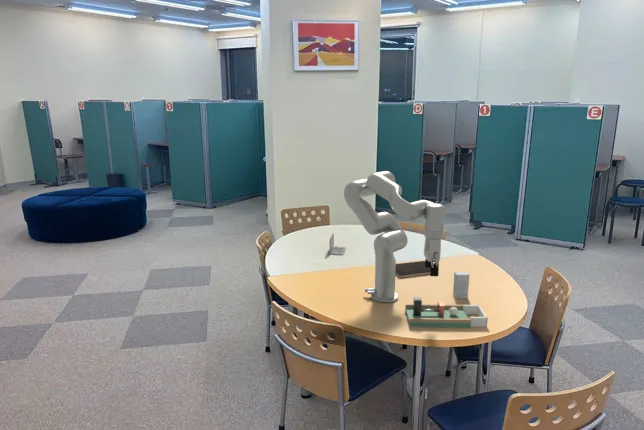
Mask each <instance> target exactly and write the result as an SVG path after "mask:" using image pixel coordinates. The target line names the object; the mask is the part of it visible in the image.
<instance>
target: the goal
mask: <svg viewBox="0 0 644 430" xmlns="http://www.w3.org/2000/svg"><path fill="white" fill-rule="evenodd" d="M462 305H463V310H464V312H465V314H466V315H477V316H470V317H469V319H471V327H472V328H473V327H477V328H478V327H479V328H482V327H484V328H486V327H488V320H489V319H488V317H487V315H486V313H485V312H484V310H483V308H482V307H481V305H480V304H462Z"/></svg>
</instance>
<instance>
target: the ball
mask: <svg viewBox="0 0 644 430" xmlns="http://www.w3.org/2000/svg"><path fill="white" fill-rule="evenodd" d="M449 312H450V314H451V315H453V316H455V315H457V314H458V309H457V308H456V307H451V308H450V310H449Z"/></svg>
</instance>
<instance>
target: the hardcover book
mask: <svg viewBox="0 0 644 430" xmlns="http://www.w3.org/2000/svg"><path fill="white" fill-rule="evenodd" d="M430 272H431V268H426V267H425V260H420V261H410V262H401V263H396V274H395V277H396V276H397V278H399V279H401V278H402V279H403V278H409V277H418V276H425V275H430Z"/></svg>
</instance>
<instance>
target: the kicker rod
mask: <svg viewBox="0 0 644 430" xmlns="http://www.w3.org/2000/svg"><path fill="white" fill-rule="evenodd" d="M422 302H423V299H422V297H419V296H417V297H416V296H414V297H413V303H412V304H413V314H414V315H419V316H421V312H437V313H438V315H439V317H444V309H445V306H444V305H445V303H444V302H443V301H442V300H440V301H439V300H438V301H437V304H438V306H437V309H421V308H422V304H423V303H422Z"/></svg>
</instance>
